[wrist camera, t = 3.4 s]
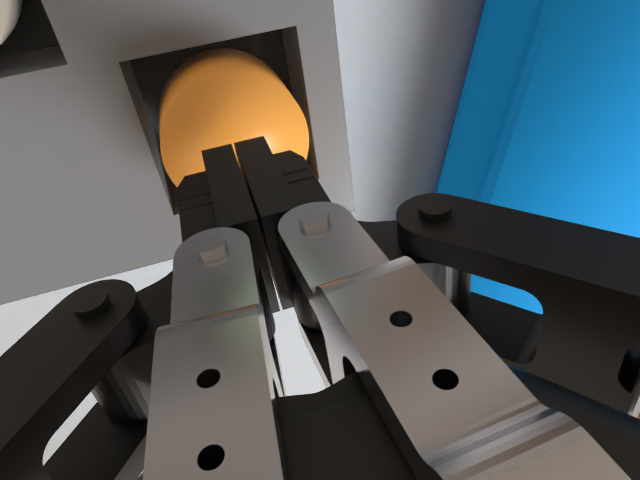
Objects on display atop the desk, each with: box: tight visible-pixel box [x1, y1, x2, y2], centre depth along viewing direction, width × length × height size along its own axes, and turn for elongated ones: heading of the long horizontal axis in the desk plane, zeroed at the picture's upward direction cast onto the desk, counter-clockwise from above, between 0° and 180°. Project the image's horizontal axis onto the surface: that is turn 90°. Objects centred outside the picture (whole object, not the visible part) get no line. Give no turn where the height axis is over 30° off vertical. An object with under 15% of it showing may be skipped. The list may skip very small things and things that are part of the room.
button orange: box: [159, 48, 309, 187], centre depth 15 cm, size 4×4×2 cm
